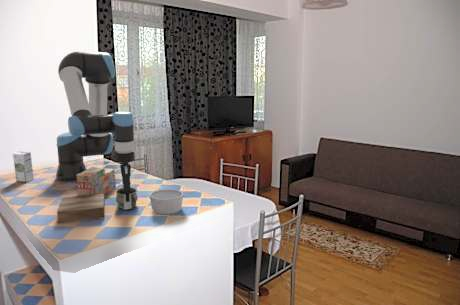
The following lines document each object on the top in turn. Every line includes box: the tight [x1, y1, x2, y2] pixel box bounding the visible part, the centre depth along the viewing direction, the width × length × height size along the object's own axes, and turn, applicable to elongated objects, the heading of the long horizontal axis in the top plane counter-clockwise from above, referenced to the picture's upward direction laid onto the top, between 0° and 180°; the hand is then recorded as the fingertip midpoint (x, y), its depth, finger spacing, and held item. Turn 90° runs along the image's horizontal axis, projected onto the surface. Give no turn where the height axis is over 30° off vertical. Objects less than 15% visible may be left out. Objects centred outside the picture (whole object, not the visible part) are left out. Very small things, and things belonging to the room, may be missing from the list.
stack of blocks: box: [76, 166, 117, 196], centre depth 163 cm, size 21×6×12 cm, turn 170°
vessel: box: [115, 186, 139, 209], centre depth 149 cm, size 12×9×6 cm
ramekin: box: [149, 188, 184, 216], centre depth 146 cm, size 13×13×7 cm
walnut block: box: [56, 194, 106, 224], centre depth 142 cm, size 16×16×5 cm
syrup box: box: [12, 150, 35, 183], centre depth 181 cm, size 6×6×14 cm
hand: (127, 204), depth 150 cm, fingers closed on vessel, 9 cm apart
